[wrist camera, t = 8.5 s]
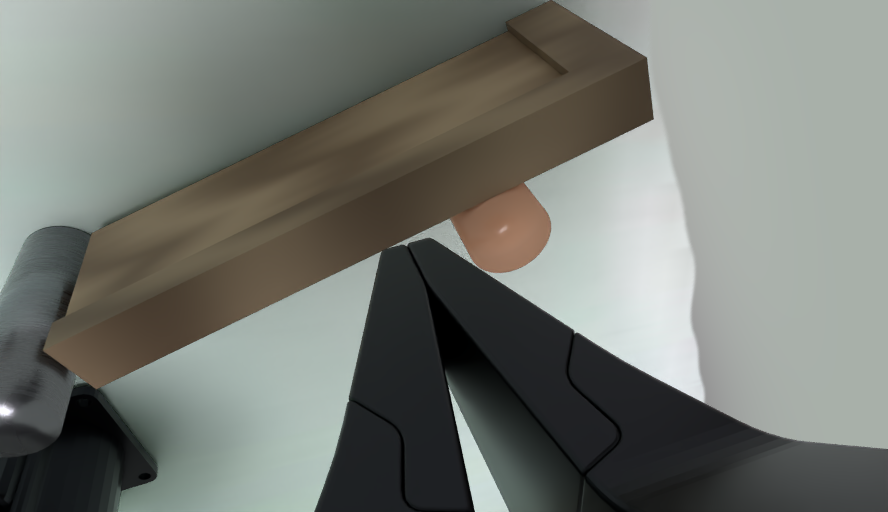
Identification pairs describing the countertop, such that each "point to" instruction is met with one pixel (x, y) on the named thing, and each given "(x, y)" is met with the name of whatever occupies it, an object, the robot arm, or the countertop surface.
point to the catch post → (504, 230)
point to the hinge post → (36, 339)
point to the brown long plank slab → (348, 190)
